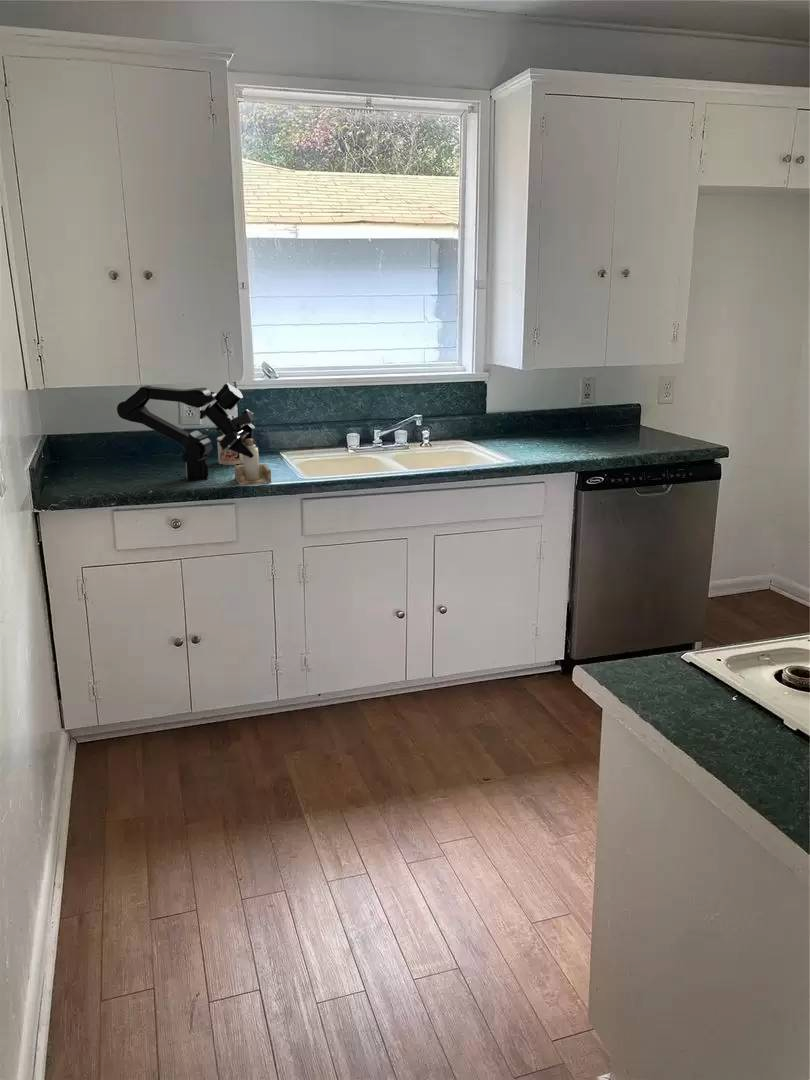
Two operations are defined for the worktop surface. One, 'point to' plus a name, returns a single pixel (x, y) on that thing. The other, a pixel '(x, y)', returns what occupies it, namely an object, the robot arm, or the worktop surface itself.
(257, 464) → the stoneware bottle
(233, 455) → the teacup with lid
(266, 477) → the maple U-rest
